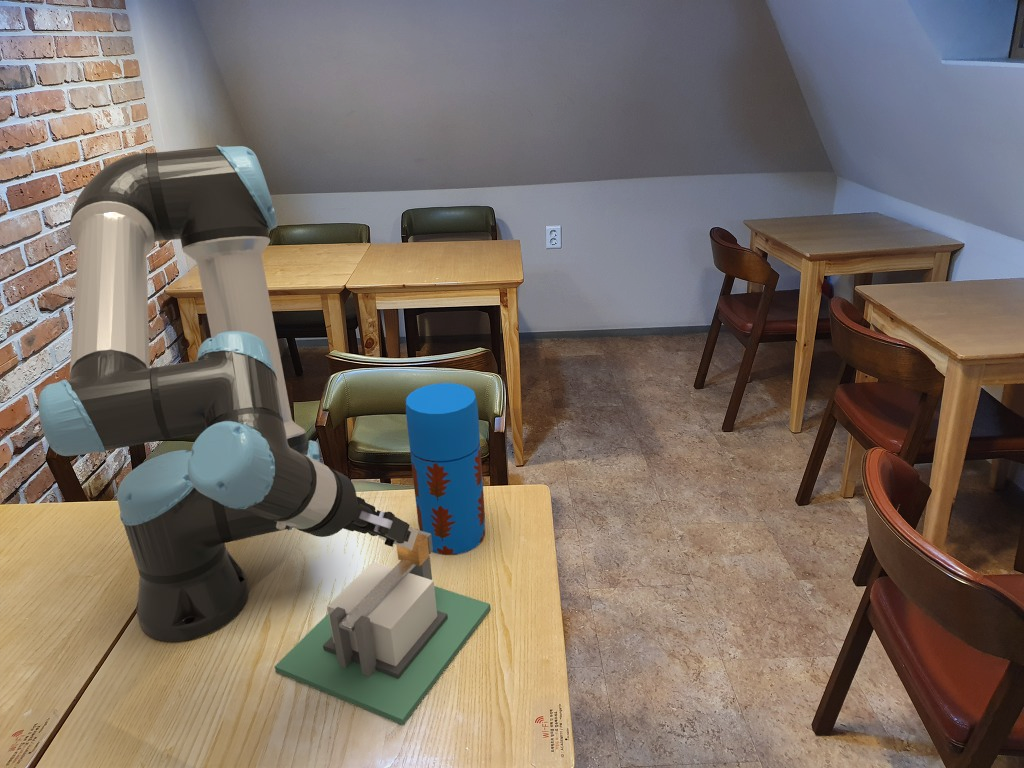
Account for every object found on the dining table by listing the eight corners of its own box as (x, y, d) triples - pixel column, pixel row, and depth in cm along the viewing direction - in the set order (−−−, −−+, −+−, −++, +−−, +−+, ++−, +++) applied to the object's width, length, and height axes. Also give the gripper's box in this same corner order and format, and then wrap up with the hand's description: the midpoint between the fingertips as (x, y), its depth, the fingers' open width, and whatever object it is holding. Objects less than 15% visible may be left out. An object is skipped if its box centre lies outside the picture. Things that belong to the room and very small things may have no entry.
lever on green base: (275, 672, 101) (260, 606, 96) (375, 572, 118) (367, 512, 114) (403, 725, 92) (393, 656, 87) (490, 609, 110) (486, 546, 105)
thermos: (476, 558, 120) (466, 416, 110) (411, 552, 122) (394, 412, 112) (492, 518, 130) (483, 384, 119) (431, 513, 132) (417, 380, 121)
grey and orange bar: (334, 625, 96) (330, 602, 95) (408, 551, 110) (405, 529, 108) (357, 633, 95) (353, 610, 93) (429, 557, 108) (427, 535, 107)
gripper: (252, 515, 87) (362, 553, 107) (345, 544, 81) (442, 578, 101) (277, 453, 89) (380, 502, 109) (369, 476, 83) (460, 523, 103)
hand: (410, 539), depth 105 cm, fingers closed
